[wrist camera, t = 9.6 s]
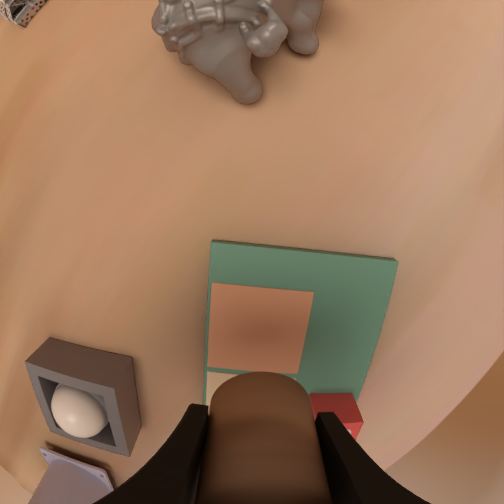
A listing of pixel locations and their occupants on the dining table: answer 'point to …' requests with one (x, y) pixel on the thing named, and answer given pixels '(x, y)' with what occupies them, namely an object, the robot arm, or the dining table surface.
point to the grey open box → (89, 389)
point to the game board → (296, 320)
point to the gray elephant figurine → (235, 36)
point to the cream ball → (78, 411)
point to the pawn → (261, 444)
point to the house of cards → (20, 10)
